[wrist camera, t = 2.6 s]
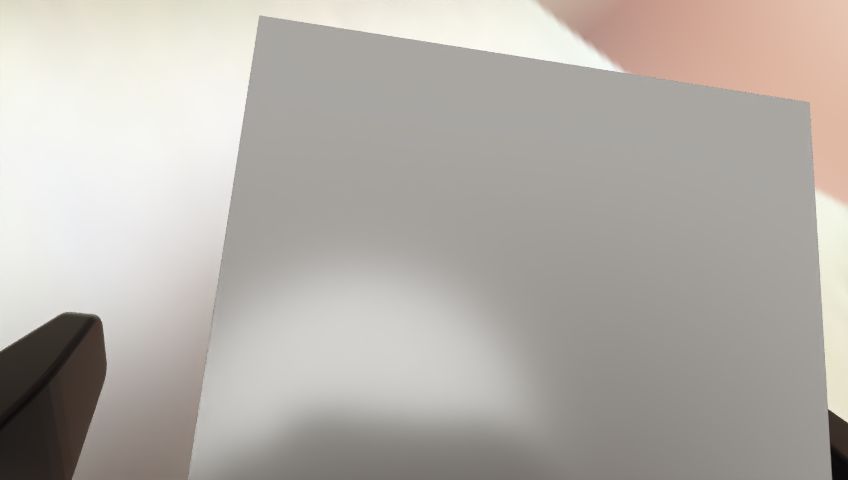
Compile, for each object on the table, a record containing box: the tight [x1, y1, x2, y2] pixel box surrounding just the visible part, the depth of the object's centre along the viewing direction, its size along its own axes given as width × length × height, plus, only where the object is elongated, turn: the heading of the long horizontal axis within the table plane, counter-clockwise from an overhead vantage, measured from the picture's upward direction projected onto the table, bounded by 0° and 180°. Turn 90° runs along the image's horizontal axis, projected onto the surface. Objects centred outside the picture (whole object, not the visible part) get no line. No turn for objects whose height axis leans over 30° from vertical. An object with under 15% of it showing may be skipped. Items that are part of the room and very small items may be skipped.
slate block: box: [188, 16, 832, 480], centre depth 9 cm, size 5×5×8 cm
